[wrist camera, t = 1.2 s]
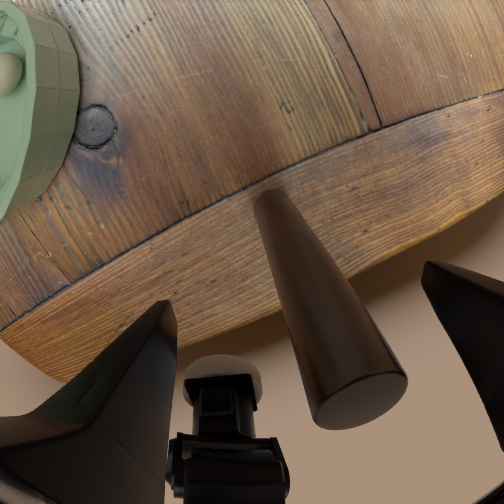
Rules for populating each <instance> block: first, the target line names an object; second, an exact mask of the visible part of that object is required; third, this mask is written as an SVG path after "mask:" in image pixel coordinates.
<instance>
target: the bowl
mask: <svg viewBox="0 0 504 504" xmlns="http://www.w3.org/2000/svg"><path fill="white" fill-rule="evenodd" d="M2 52H11V53H14V54H16V55H17V56H18V57H19V59H20V60H21V64H22V74H21V77H20V80H19V82H18V84H17V85H16V87H15V88H14V89H13V90H12V91H11V92H10V93H9V94H8V95H6V96H4V97H2V98H0V226H1V225H3V224H4V223H6V222H7V221H9V220H10V219H12V218H13V217H15V216H16V215H18V214H19V213H21V212H22V211H24V210H26V209H27V208H28V207H29V206H30V205H31V204H32V203H33V202H35V201H36V200H37V199H38V198H39V197H40V196H41V195H43V194H44V193H45V192H46V190H47V188H48V187H49V185H50V183H51V182H52V180H53V178H54V177H55V175H56V173H57V172H58V170H59V169H60V167H61V166H62V164H63V161H64V157H65V154H66V151H67V149H68V146H69V143H70V140H71V137H72V135H73V132H74V129H75V122H76V114H77V107H78V101H79V95H80V85H79V73H78V58H77V55H76V52H75V50H74V47H73V45H72V43H71V40H70V38H69V35H68V33H67V31H66V29H64V28H63V27H62V26H61V25H60V24H59V23H57V22H56V21H55V20H54V19H53V18H51V17H50V16H48V15H46V14H43V13H41V12H38V11H36V10H33V9H31V8H28V7H26V6H23V5H20V4H18V3H15V2H12V1H6V0H0V53H2Z"/></svg>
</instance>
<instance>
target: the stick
mask: <svg viewBox="0 0 504 504" xmlns="http://www.w3.org/2000/svg"><path fill="white" fill-rule="evenodd" d="M254 213H255V217H256V220H257V224H258V227H259V230H260V234H261V237H262V241H263V244H264V247H265V251H266V254H267V258H268V261H269V265H270V268H271V271H272V275H273V278H274V282H275V285H276V289H277V292H278V296H279V299H280V303H281V306H282V310H283V313H284V317H285V320H286V324H287V328H288V331H289V335H290V338H291V342H292V345H293V349H294V353H295V356H296V360H297V363H298V367H299V371H300V374H301V378H302V381H303V385H304V389H305V393H306V396H307V400H308V404H309V407H310V411H311V414H312V418H313V421H314V422H315V423H316V424H317V425H318V426H319V427H321V428H324V429H327V430H343V429H349V428H353V427H357V426H360V425H363V424H365V423H368V422H370V421H372V420H374V419H376V418H378V417H379V416H381V415H383V414H384V413H386V412H387V411H388V410H390V409H391V408H392V407H393V406H394V405H395V404H396V403H397V402H398V401H399V400H400V399H401V398H402V396H403V395H404V393H405V391H406V389H407V386H408V378H407V375H406V373H405V371H404V370H403V368H402V366H401V364H400V363H399V361H398V359H397V358H396V356H395V354H394V353H393V351H392V349H391V348H390V346H389V344H388V343H387V341H386V339H385V338H384V336H383V335H382V333H381V332H380V330H379V328H378V327H377V325H376V323H375V322H374V320H373V319H372V317H371V316H370V314H369V312H368V311H367V309H366V308H365V306H364V305H363V303H362V302H361V300H360V299H359V297H358V295H357V294H356V292H355V291H354V289H353V288H352V286H351V285H350V283H349V282H348V280H347V279H346V277H345V276H344V274H343V273H342V271H341V270H340V269H339V267H338V266H337V264H336V263H335V261H334V260H333V258H332V257H331V255H330V254H329V253H328V251H327V250H326V248H325V247H324V245H323V244H322V243H321V241H320V240H319V238H318V237H317V236H316V234H315V233H314V231H313V230H312V229H311V227H310V226H309V225H308V223H307V222H306V220H305V219H304V218H303V216H302V215H301V214H300V212H299V211H298V210H297V208H296V207H295V206H294V204H293V203H292V202H291V200H290V199H289V198H288V196H287V195H286V194H284V193H283V192H280V191H276V190H271V191H267V192H265V193H263V194H262V195H260V196H259V197H258V199H257V200H256V202H255V205H254Z"/></svg>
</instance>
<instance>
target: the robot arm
mask: <svg viewBox="0 0 504 504" xmlns="http://www.w3.org/2000/svg"><path fill="white" fill-rule="evenodd" d="M421 285H422V287H423V289H424V291H425V293H426V295H427V297H428V299H429V301H430V303H431V305H432V307H433V309H434V311H435V313H436V315H437V317H438V319H439V321H440V322H441V324H442V325H443V327H444V329H445V331H446V332H447V334H448V336H449V337H450V339H451V341H452V343H453V344H454V346H455V348H456V350H457V352H458V354H459V355H460V357H461V359H462V361H463V363H464V365H465V367H466V369H467V370H468V373H469V375H470V377H471V378H472V381H473V383H474V385H475V387H476V389H477V391H478V393H479V395H480V398H481V399H482V402H483V404H484V405H485V406H484V407H485V409H486V411H487V414H488V416H489V418H490V421H491V423H492V425H493V428H494V431H495V433H496V436H497V439H498V441H499V444H500V447H501V449H502V451H503V452H504V282H502V281H499V280H497V279H494V278H490V277H488V276H485V275H482V274H479V273H476V272H473V271H470V270H467V269H464V268H461V267H458V266H455V265H452V264H449V263H446V262H443V261H440V260H436V259H432V260H427V261H426V262H425V264H424V269H423V273H422V278H421ZM176 365H177V321H176V317H175V314H174V311H173V308H172V305H171V302H170V301H169V300H162V301H157V302H156V303H154V304H153V305H152V306H151V307H150V308H149V309H148V310H147V311H146V312H145V313H143V314H142V315H141V316H140V317H139V318H138V319H137V320H136V321H135V322H134V323H132V324H131V325H130V326H129V327H128V328H127V329H126V330H125V331H124V332H123V333H122V334H121V335H119V336H118V337H117V338H116V339H115V340H114V341H113V342H112V343H111V344H110V345H109V346H108V347H107V348H105V349H104V350H103V351H102V352H101V353H100V354H99V355H98V356H97V357H96V358H95V359H94V360H93V361H92V362H90V363H89V364H88V365H87V366H86V367H85V368H84V369H83V370H82V371H81V372H80V373H79V374H78V375H76V376H75V377H74V378H73V379H72V380H71V381H69V382H68V383H67V384H66V385H65V386H63V387H62V388H61V389H60V390H59V391H57V392H56V393H55V394H54V395H52V396H51V397H50V398H49V399H47V400H46V401H45V402H44V403H43V404H41V405H40V406H39V407H38V408H36V409H35V410H33V411H31V412H30V413H27V414H25V415H21V416H9V417H0V504H164V495H165V485H164V484H165V480H166V481H167V482H168V483H169V484H170V486H171V490H174V498H181V499H183V504H285V499H286V498H287V496H288V494H289V489H290V476H289V471H288V467H287V465H286V462H285V459H284V457H283V454H282V451H281V448H280V446H279V443H278V440H277V438H276V437H271V438H256V435H255V426H254V418H253V412H255V411H257V410H258V409H257V402H256V397H255V391H254V385H253V379H252V375H251V374H249V373H245V374H236V375H227V376H216V377H204V378H190V379H185V380H184V387H185V389H186V391H187V393H188V395H189V398H190V400H191V402H192V404H193V406H194V409H193V431H192V435H190V434H183V433H181V432H177V438H175V439H171V440H169V449H168V438H169V427H170V418H171V409H172V399H173V391H174V383H175V375H176ZM167 449H168V458H167ZM183 458H187V459H183ZM166 462H167V465H166ZM472 504H504V481H502V482H501V483H500V484H499V485H498V486H496V487H495V488H493V489H492V490H491V491H490V492H488V493H487V494H485V495H484V496H483V497H481V498H480V499H478V500H477V501H475V502H474V503H472Z"/></svg>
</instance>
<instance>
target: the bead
mask: <svg viewBox="0 0 504 504" xmlns="http://www.w3.org/2000/svg"><path fill="white" fill-rule="evenodd" d="M21 74H22V64H21V60H20V59H19V57H18V56H17V55H16V54H14V53H11V52H2V53H0V98H2V97H4V96H6V95H8V94H9V93H10V92H11V91H12V90H13V89H14V88H15V87H16V85H17V84H18V82H19V80H20V77H21Z"/></svg>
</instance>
